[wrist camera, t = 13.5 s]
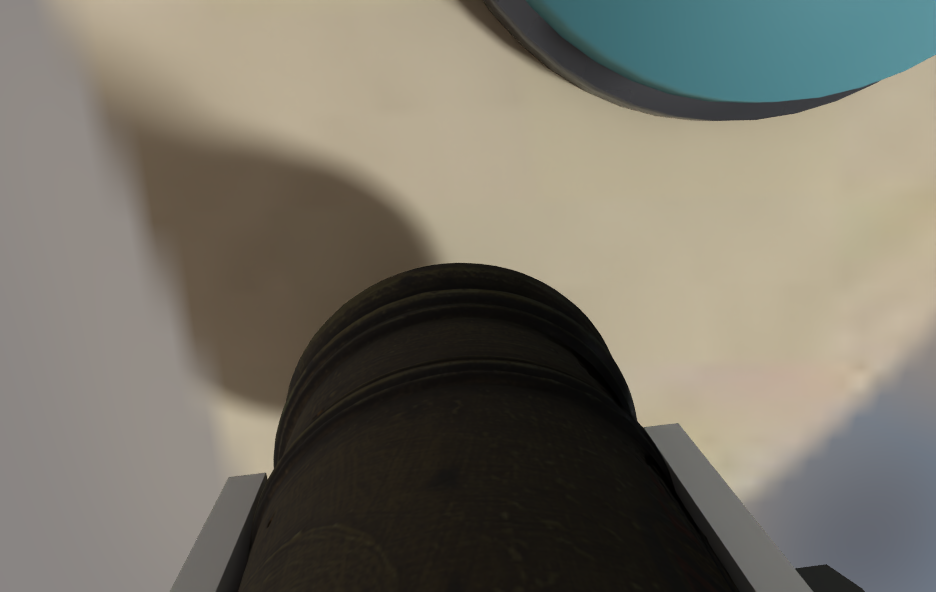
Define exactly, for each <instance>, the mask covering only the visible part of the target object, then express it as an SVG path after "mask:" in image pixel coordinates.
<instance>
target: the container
mask: <svg viewBox="0 0 936 592" xmlns="http://www.w3.org/2000/svg"><path fill="white" fill-rule="evenodd" d="M238 592H740V591H739V590H738V588H737V587H736V585H735V584H734V582H733V580H732V579H731V577H730V575H729V574H728V572H727V571H726V569H725V568H724V566H723V565H722V563H721V562H720V560H719V559H718V557H717V556H716V554H715V553H714V551H713V549H712V548H711V546H710V544H709V543H708V540H707V537H706V536H705V535H704V534H703V533H702V531H701V530H700V529H699V527H698V526H697V525H696V523H695V522H694V520H693V518H692V517H691V515H690V514H689V512H688V511H687V509H686V508H685V506H684V504H683V503H682V501H681V500H680V498H679V497H678V495H677V493H676V491H675V488H674V485H673V482H672V479H671V475H670V472H669V470H668V467H667V465H666V463H665V461H664V459H663V457H662V455H661V453H660V451H659V450H658V448H657V446H656V445H655V443H654V442H653V440H652V439H651V437H650V436H649V435H648V433H647V432H646V431H645V430H644V428H643V427H642V426H641V425H640V424H639V423H638V422H637V417H636V412H635V407H634V403H633V400H632V396H631V393H630V391H629V388H628V385H627V383H626V381H625V379H624V377H623V375H622V373H621V371H620V369H619V367H618V366H617V364H616V363H615V361H614V359H613V358H612V356H611V354H610V351H609V349H608V347H607V345H606V343H605V342H604V340H603V338H602V337H601V335H600V333H599V332H598V330H597V329H596V328H595V326H594V325H593V324H592V322H591V321H590V320H589V319H588V317H587V316H586V315H585V314H584V313H583V312H582V311H581V310H580V309H579V308H578V307H577V306H576V305H574V304H573V303H572V302H571V301H570V300H568V299H567V298H566V297H565V296H563V295H562V294H561V293H559V292H558V291H556V290H555V289H553V288H552V287H550V286H548V285H547V284H545V283H543V282H541V281H539V280H537V279H535V278H532V277H530V276H528V275H525V274H523V273H520V272H517V271H514V270H510V269H506V268H502V267H497V266H491V265H484V264H473V263H447V264H438V265H431V266H425V267H421V268H417V269H413V270H410V271H407V272H403V273H400V274H398V275H395V276H392V277H390V278H387V279H385V280H383V281H380V282H379V283H377V284H375V285H373V286H371V287H369V288H368V289H366V290H364V291H363V292H361V293H360V294H358V295H357V296H355V297H354V298H352V299H351V300H350V301H348V302H347V303H346V304H344V305H343V306H342V307H341V308H340V309H339V310H338V311H337V312H336V313H335V314H334V315H333V316H332V317H330V318H329V319H328V320H327V321H326V322H325V324H324V325H323V326H322V327H321V328H320V329H319V330H318V332H317V333H316V334H315V336H314V337H313V338H312V340H311V341H310V343H309V344H308V346H307V348H306V349H305V351H304V353H303V355H302V356H301V358H300V360H299V362H298V365H297V367H296V369H295V371H294V374H293V377H292V380H291V383H290V386H289V390H288V395H287V400H286V404H285V406H284V408H283V411H282V415H281V418H280V421H279V425H278V429H277V433H276V439H275V449H274V470H273V472H272V473H271V475H270V476H269V478H268V480H267V482H266V485H265V487H264V489H263V491H262V493H261V496H260V499H259V502H258V505H257V508H256V511H255V515H254V519H253V524H252V530H251V538H250V547H249V555H248V562H247V565H246V568H245V571H244V574H243V577H242V581H241V584H240V587H239V590H238Z"/></svg>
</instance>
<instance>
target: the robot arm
mask: <svg viewBox="0 0 936 592" xmlns="http://www.w3.org/2000/svg"><path fill="white" fill-rule="evenodd" d="M644 430H645V431H646V432H647V433H648V435H649V436H650V437H651V439H652V440H653V442H654V443H655V445H656V446H657V448H658V450H659V451H660V453H661V455H662V457H663V459H664V461H665V463H666V465H667V467H668V470H669V472H670V475H671V479H672V482H673V485H674V488H675V491H676V493H677V495H678V497H679V498H680V500H681V501H682V503H683V504H684V506H685V508H686V509H687V511H688V512H689V514H690V515H691V517H692V518H693V520H694V522H695V523H696V525H697V526H698V527H699V529H700V530H701V531H702V533H703V534H704V535H705V536H706V537H707V540H708V543H709V544H710V546H711V548H712V549H713V551H714V553H715V554H716V556H717V557H718V559H719V560H720V562H721V563H722V565H723V566H724V568H725V569H726V571H727V572H728V574H729V575H730V577H731V579H732V580H733V582H734V584H735V585H736V587H737V588H738V590H739V591H740V592H865V591H864V590H863V589H862V588H860V587H859V586H857V585H856V584H854V583H853V582H851V581H850V580H849V579H847V578H846V577H844V576H842V575H841V574H840V573H838V572H837V571H835V570H834V569H832V568H831V567H830V566H828V565H827V564H826V565H818V566H811V567H803V568H796V569H795V568H794V567H793V566H792V565H791V564H790V562H789V561H788V560H787V558H786V557H785V556H784V555H783V553H782V552H781V551H780V550H779V549H778V547H777V546H776V545H775V543H774V542H773V541H772V540H771V538H770V537H769V536H768V535H767V534H766V532H765V531H764V530H763V528H762V527H761V526H760V525H759V523H758V522H757V521H756V520H755V518H754V517H753V516H752V515H751V513H750V512H749V511H748V510H747V508H746V507H745V506H744V505H743V503H742V502H741V501H740V500H739V498H738V497H737V496H736V495H735V493H734V492H733V491H732V490H731V488H730V487H729V486H728V485H727V483H726V482H725V481H724V480H723V478H722V477H721V476H720V475H719V474H718V472H717V471H716V470H715V469H714V467H713V466H712V465H711V464H710V462H709V461H708V460H707V459H706V457H705V456H704V455H703V454H702V452H701V451H700V450H699V449H698V447H697V446H696V445H695V444H694V442H693V441H692V440H691V439H690V437H689V436H688V435H687V434H686V432H685V431H684V430H683V429H682V427H681V426H680V425H679V424H678V423H676V424H667V425H659V426H651V427H644ZM266 482H267V475H266V473H259V474H251V475H243V476H234V477H229V478H228V480H227V482H226V484H225V486H224V488H223V489H222V491H221V493H220V495H219V497H218V499H217V501H216V503H215V505H214V507H213V509H212V511H211V513H210V515H209V517H208V519H207V521H206V522H205V524H204V526H203V529H202V530H201V532H200V534H199V536H198V538H197V540H196V542H195V544H194V546H193V548H192V550H191V551H190V554H189V555H188V557H187V559H186V561H185V563H184V565H183V567H182V569H181V571H180V573H179V575H178V577H177V579H176V581H175V582H174V584H173V586H172V588H171V590H170V592H238V590H239V587H240V584H241V581H242V577H243V574H244V571H245V568H246V565H247V562H248V555H249V547H250V538H251V530H252V524H253V519H254V515H255V511H256V508H257V505H258V502H259V499H260V496H261V493H262V491H263V489H264V487H265V485H266Z"/></svg>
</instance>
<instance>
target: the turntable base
mask: <svg viewBox="0 0 936 592" xmlns="http://www.w3.org/2000/svg"><path fill="white" fill-rule="evenodd" d="M483 1H484V2H485V4H486V5H487V7H488V8H489V10H490V11H491V12H492V13H493V15H494V16H495V17H496V18H497V19H498V20H499V21H500V22H501V23H502V24H503V26H504V27H505V28H506V29H507V30H508V31H509V32H510V33H511V34H512V35H513V36H514V38H515V39H516V40H517V41H518V42H519V43H520V44H521V45H522V46H523V47H525V48H526V49H527V50H528V51H529V52H530V53H532V54H533V55H534V56H535V57H536V58H538V59H539V60H540V61H541V62H542V63H544V64H545V65H546V66H547V67H548V68H550V69H551V70H552V71H554V72H555V73H557V74H559V75H560V76H562V77H563V78H565V79H567V80H568V81H570V82H571V83H573V84H575V85H576V86H578V87H579V88H581V89H583V90H584V91H586V92H588V93H591V94H593V95H595V96H598V97H600V98H602V99H605V100H607V101H609V102H611V103H614V104H616V105H618V106H621V107H625V108H628V109H632V110H636V111H639V112H643V113H647V114H650V115H654V116H660V117H668V118H677V119H685V120H697V121H727V120H758V119H764V118H770V117H776V116H782V115H788V114H794V113H798V112H802V111H805V110H808V109H811V108H815V107H818V106H821V105H825V104H828V103H831V102H834V101H837V100H839V99H842V98H844V97H846V96H848V95H851V94H853V93H855V92H857V91H860V90H862V89H864V88H866V87H868V86H871V85H873V84H875V83H877V82H879V81H877V82H874V83H872V84H869V85H866V86H864V87H861V88H856V89H852V90H848V91H844V92H840V93H836V94H832V95H828V96H823V97H819V98H809V99H799V100H789V101H779V102H758V103H734V102H710V101H702V100H697V99H692V98H687V97H682V96H676V95H671V94H667V93H664V92H662V91H659V90H656V89H653V88H650V87H647V86H645V85H642V84H639V83H636V82H633V81H631V80H629V79H627V78H625V77H623V76H621V75H619V74H618V73H616V72H614V71H612V70H610V69H608V68H606V67H604V66H602V65H601V64H599V63H597V62H595V61H594V60H592V59H591V58H590V57H588V56H587V55H586V54H584V53H583V52H581V51H580V50H579V49H577V48H576V47H575V46H573V45H572V44H571V43H569V42H568V41H566V40H565V39H564V38H562V37H561V36H560V35H559V34H558V33H557V32H556V31H555V30H554V29H553V28H552V27H551V26H550V25H549V24H548V23H547V22H546V21H545V20H544V19H543V18H542V17H541V16H540V15H539V14H538V13H537V12H535V11H534V10H533V9H532V8H531V7H530V6H529V4H528V3H527V2H526V0H483Z"/></svg>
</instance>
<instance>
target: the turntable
mask: <svg viewBox="0 0 936 592" xmlns="http://www.w3.org/2000/svg"><path fill="white" fill-rule="evenodd" d="M526 2H527V3H528V4H529V6H530V7H531V8H532V9H533V10H534V11H535V12H537V13H538V14H539V15H540V16H541V17H542V18H543V19H544V20H545V21H546V22H547V23H548V24H549V25H550V26H551V27H552V28H553V29H554V30H555V31H556V32H557V33H558V34H559V35H560V36H561V37H562V38H564V39H565V40H566V41H568V42H569V43H571V44H572V45H573V46H575V47H576V48H577V49H579V50H580V51H581V52H583V53H584V54H586V55H587V56H588V57H590V58H591V59H592V60H594V61H595V62H597V63H599V64H601V65H602V66H604V67H606V68H608V69H610V70H612V71H614V72H616V73H618V74H619V75H621V76H623V77H625V78H627V79H629V80H631V81H633V82H636V83H639V84H642V85H645V86H647V87H650V88H653V89H656V90H659V91H662V92H664V93H667V94H671V95H676V96H682V97H687V98H692V99H697V100H702V101H710V102H734V103H758V102H779V101H789V100H799V99H809V98H819V97H823V96H828V95H832V94H836V93H840V92H844V91H848V90H852V89H856V88H861V87H864V86H866V85H869V84H872V83H874V82H877V81H880V80H882V79H885V78H887V77H890V76H893V75H895V74H898V73H900V72H903V71H905V70H907V69H909V68H911V67H913V66H915V65H917V64H919V63H921V62H922V61H924V60H926V59H928V58H930V57H932V56H934V55H936V0H526Z"/></svg>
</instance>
